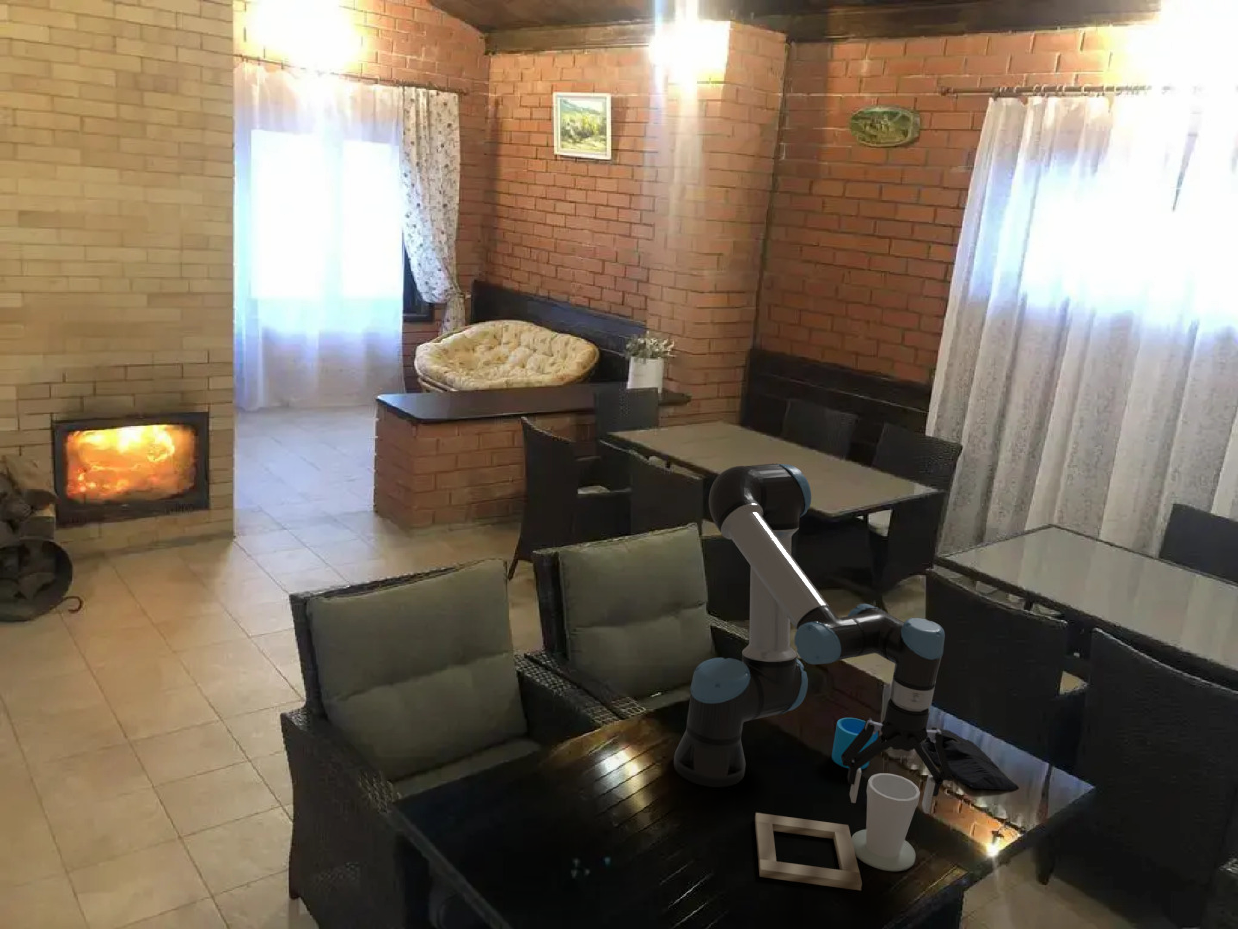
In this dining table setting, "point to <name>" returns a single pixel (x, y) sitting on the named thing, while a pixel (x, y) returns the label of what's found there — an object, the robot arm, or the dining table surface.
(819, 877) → the birch pocket board
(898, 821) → the foam cup
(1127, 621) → the dining table surface
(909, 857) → the pale grey-green round part
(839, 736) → the mug
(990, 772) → the black fabric pouch
